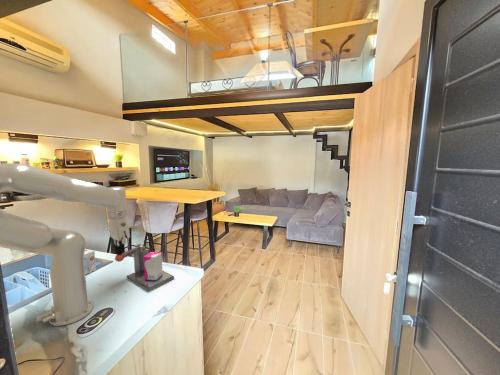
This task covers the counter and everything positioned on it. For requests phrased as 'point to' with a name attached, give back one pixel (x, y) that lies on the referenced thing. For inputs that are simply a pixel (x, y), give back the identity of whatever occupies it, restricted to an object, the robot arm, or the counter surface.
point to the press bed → (139, 274)
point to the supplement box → (153, 266)
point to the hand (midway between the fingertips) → (120, 253)
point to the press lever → (129, 252)
